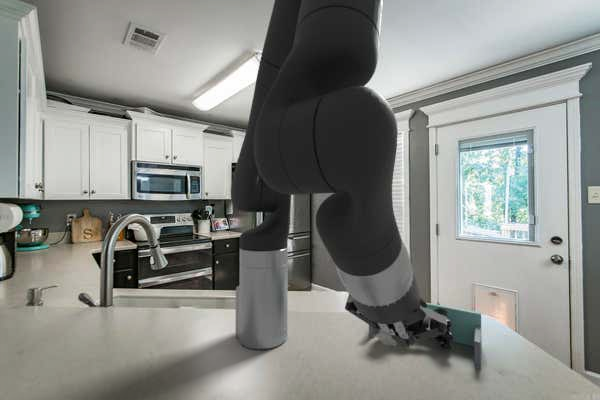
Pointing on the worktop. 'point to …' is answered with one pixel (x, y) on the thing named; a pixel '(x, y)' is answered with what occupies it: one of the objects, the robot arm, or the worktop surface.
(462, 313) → the walled bay
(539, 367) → the worktop surface
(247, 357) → the worktop surface
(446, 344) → the valve
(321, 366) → the worktop surface
